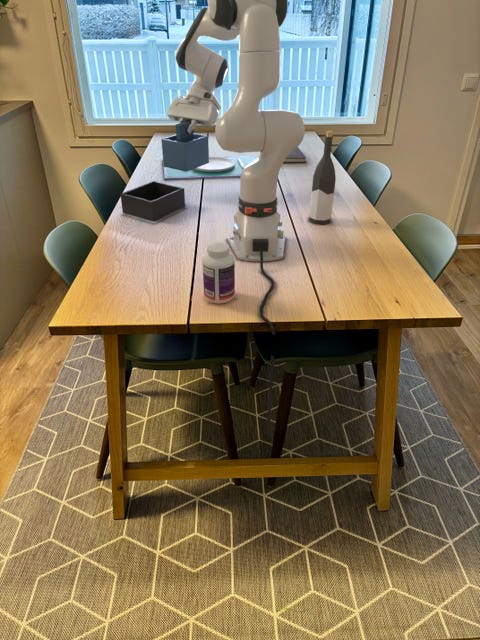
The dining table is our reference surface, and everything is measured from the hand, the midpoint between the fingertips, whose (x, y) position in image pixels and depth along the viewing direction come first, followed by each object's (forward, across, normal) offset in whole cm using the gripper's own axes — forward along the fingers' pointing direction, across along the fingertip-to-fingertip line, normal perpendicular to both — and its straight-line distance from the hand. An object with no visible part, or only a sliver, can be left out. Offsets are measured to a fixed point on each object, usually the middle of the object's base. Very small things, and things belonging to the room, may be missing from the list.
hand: (183, 131), depth 172 cm
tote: (+31, 0, +4) cm, 31 cm away
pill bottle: (+57, +54, -22) cm, 81 cm away
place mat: (-9, -14, +44) cm, 47 cm away
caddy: (+8, 0, +9) cm, 12 cm away
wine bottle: (+12, +54, +22) cm, 59 cm away
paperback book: (-35, +5, +70) cm, 78 cm away
